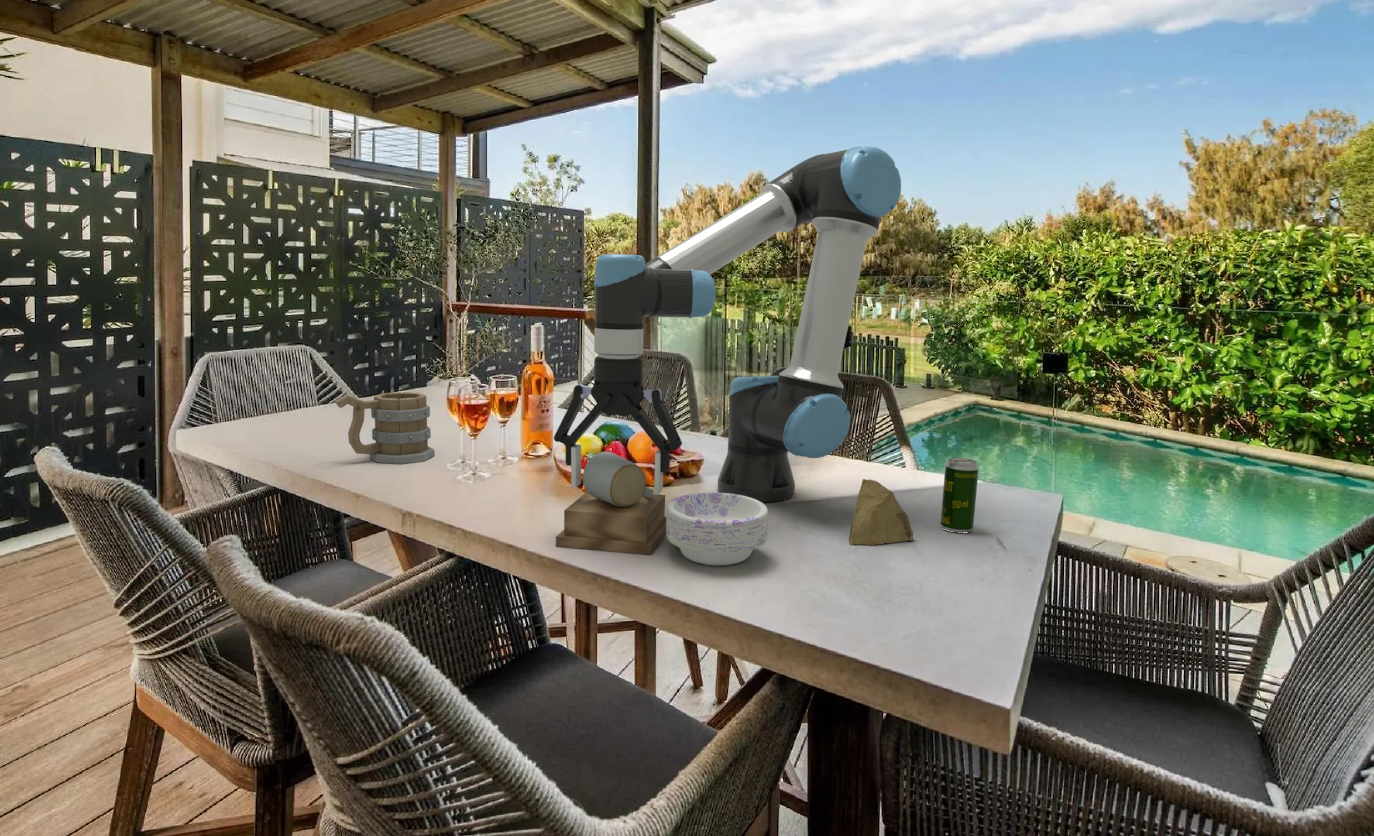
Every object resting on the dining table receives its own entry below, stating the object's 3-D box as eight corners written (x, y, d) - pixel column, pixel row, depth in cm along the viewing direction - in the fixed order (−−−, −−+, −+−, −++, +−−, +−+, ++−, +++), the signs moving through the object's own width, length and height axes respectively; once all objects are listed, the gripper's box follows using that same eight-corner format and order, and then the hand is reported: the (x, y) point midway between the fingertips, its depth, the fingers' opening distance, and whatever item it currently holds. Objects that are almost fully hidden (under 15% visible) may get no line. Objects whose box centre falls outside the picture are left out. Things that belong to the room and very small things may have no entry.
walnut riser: (671, 525, 136) (672, 493, 135) (650, 554, 121) (651, 519, 120) (586, 518, 138) (586, 487, 138) (555, 545, 124) (555, 511, 123)
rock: (918, 520, 135) (859, 505, 138) (925, 489, 129) (863, 473, 132) (905, 573, 128) (843, 556, 131) (912, 543, 122) (846, 526, 125)
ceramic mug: (611, 512, 123) (612, 463, 122) (581, 500, 129) (582, 453, 128) (664, 502, 130) (666, 456, 129) (634, 491, 136) (635, 447, 135)
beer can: (964, 524, 141) (970, 457, 139) (978, 534, 136) (985, 464, 134) (935, 524, 141) (940, 457, 138) (947, 534, 135) (953, 464, 133)
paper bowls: (706, 581, 111) (708, 526, 110) (646, 549, 124) (647, 499, 122) (787, 561, 120) (790, 509, 119) (723, 533, 132) (725, 486, 131)
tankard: (420, 449, 188) (418, 385, 186) (440, 459, 178) (439, 392, 176) (329, 459, 176) (326, 391, 173) (346, 471, 166) (343, 399, 164)
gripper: (702, 357, 126) (698, 488, 130) (550, 350, 131) (550, 477, 134) (693, 361, 119) (689, 500, 123) (533, 354, 123) (534, 488, 127)
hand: (616, 488), depth 129 cm, fingers open, 13 cm apart
